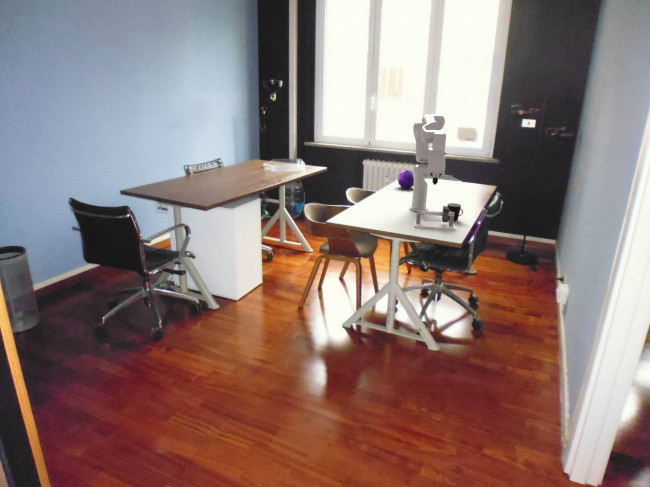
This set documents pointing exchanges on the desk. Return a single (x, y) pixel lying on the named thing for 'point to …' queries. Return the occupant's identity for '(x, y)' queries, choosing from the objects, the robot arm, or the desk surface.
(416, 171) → the robot arm
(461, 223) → the desk surface
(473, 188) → the desk surface
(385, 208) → the desk surface
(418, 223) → the rail fixture
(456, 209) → the coffee mug
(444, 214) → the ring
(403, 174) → the decorative orb
